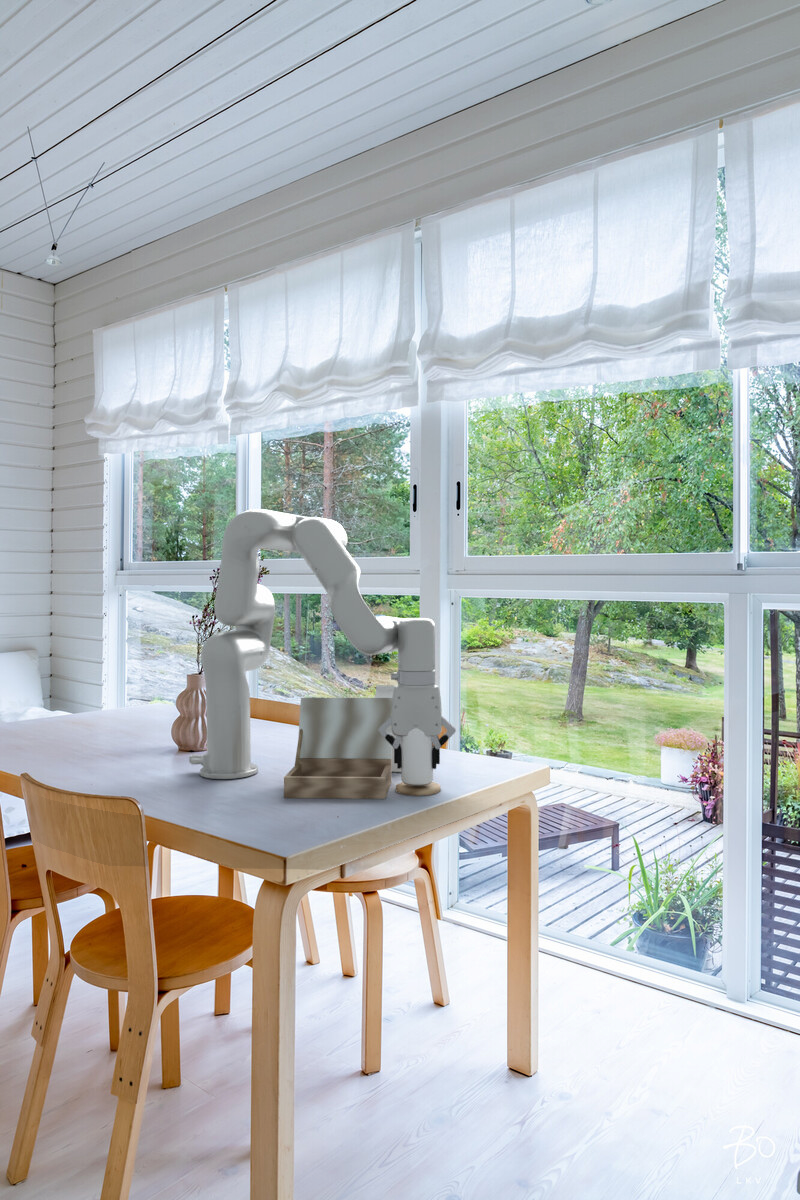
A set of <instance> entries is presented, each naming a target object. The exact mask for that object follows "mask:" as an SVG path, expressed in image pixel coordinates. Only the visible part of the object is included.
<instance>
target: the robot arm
mask: <svg viewBox="0 0 800 1200" xmlns="http://www.w3.org/2000/svg"><path fill="white" fill-rule="evenodd" d="M347 545H348V536H347V531H345V529H344V527H343V526H342V524H340V523H339V522H337V521H335V520H333V519H331V518H329V519H328V518H325V517H324V518H323V517H318V516H317V517H316V516H303V515H298V514H292V513H286V512H282V511H275V510H270V509H263V508H254V509H248V510H245V511H242V512H240V513H239V514H237V515H235V516H233V518H232V519H231V520H230V521H229V522H228V524H227V525H226V528H225V530H224V533H223V538H222V546H221V547H222V548H221V559H220V560H221V561H220V567H219V572H218V577H217V585H216V586H217V587H216V593H215V600H214V615H215V618H216V619H217V621H218V622H220V623H221V624H222V625H225V626H230V627H235V630H230V631H229V630H228V631H221V632H217V633H215V634H213V635H211V636H210V637H208V638H207V639H206V640H205V642H204V644H203V645H202V647H201V653H200V654H201V655H200V660H201V665H202V670H203V676H204V683H205V703H206V706H205V707H206V753H203V754H190V755H189V758H188V761H189V764H191V765H192V766H193V765H195V766H196V765H201V766H202V767H201V768H200V770H199V774H200V776H201V777H203V778H205V779H212V780H233V779H235V780H236V779H240V778H247V777H250V776H253V775H255V774H257V773H258V771H259V770H258V769H259V767H258V765H257V764H254V763H253V762H252V761H251V760H252V759H251V757H252V756H251V755H252V754H251V753H252V752H251V748H252V746H251V698H250V695H251V692H250V687H249V683H248V679H247V676H246V674H245V672H249V671H254V670H256V669H258V668H260V667H262V666H263V665H264V663H266V661H267V658H268V656H269V653H270V648H271V641H272V637H273V636H272V635H273V629H274V622H275V615H276V602H275V599H274V596H273V594H272V592H271V591H270V589H269V588H267V587H266V586H264V585H263V584H259V583H258V582H259V581H258V580H259V575H260V568H261V567H260V566H261V565H260V558H259V555H258V551H260V550H262V549H263V550H271V551H272V550H274V551H281V552H282V551H284V552H289V553H296V554H300V556H301V557H302V559H303V560H304V561H305V563H306V564H307V565H308V567H309V568H310V570H311V571H312V573H313V574H314V575H315V577H316V578H317V580H318V581H319V583H320V585H322V587H323V589H324V590H325V592H326V594H327V600H328V604H329V608H330V611H331V614H332V616H333V618H334V621H335V622H336V624H337V626H338V627H339V628H340V630H341V631H342V633H343V634H344V636H345V637H346V639H347V640H348V641H349V643H350V644H351V645H352V646H353V648H355V649H356V650H357V651H358V652H359V653H361V654H363V655H365V656H374V655H375V656H376V655H379V654H380V655H381V654H386V653H391V652H397V669H398V670H397V671H396V672H391V673H390V681H393V680H394V681H396V682H397V684H396V686H394V691H393V698H392V712H391V717H390V718H389V719H388V720H387V721H385V722H384V723H383V724H382V725H381V726H380V727H379V729H378V731H379V732H380V734H381V735H382V736H383V737H384V738H385V739H386V740H387V741H388V742H389V743H390V744H391V745H392V746H393V748H394V763H397V769H400V768H401V744H400V742H401V740H402V736H407V735H408V733H409V732H410V731H411V730H412V729H415V728H417V729H420V730H422V731H423V732H424V734H425V736H427V737H431V740H432V742H433V749H432V768H433V770H436V769H437V765H440V764H441V763H440V762H441V759H440V756H441V754H440V750H441V748H442V746H443V745H445V743H446V742H448V740H450V738H451V737H453V735H455V733H456V732H457V731H456V730H457V729H456V727H455V726H454V725H453V724H452V723H450V722H449V721H448V720H447V718H445V717H444V716H443V712H442V710H443V709H442V698H441V691H440V686H439V685H437V684H436V624H435V621H433V619H431V618H428V617H406V618H402V617H401V618H400V617H396V616H390V615H389V616H387V615H386V616H385V615H383V616H375V615H374V613H373V612H372V611H371V609H370V608H369V606H368V605H367V603H366V602H365V599H363V596H362V594H361V593H360V592H361V591H360V588H359V580H360V576H361V568H360V566H359V565H358V564H357V562H356V561H355V560H354V558H353V557H352V556H351V555H350V553H349V551H348V550H347V549H346V547H347ZM390 725H391V730H392V733H393V734H394V735H396V738H394V737H393V736H392V735H391V734H390V733H389V732H388V731H387V728H388V727H389V726H390ZM414 725H418V726H414ZM443 727H444V729H446V732H445V733H443V734H442V736H441V737H439V735H440V734H441V733H442V730H443Z"/></svg>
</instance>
